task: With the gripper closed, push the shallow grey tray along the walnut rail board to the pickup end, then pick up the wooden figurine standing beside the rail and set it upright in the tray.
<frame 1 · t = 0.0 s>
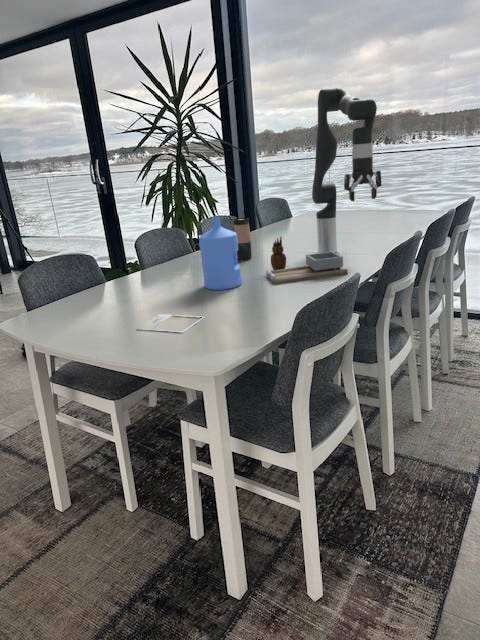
hand: (362, 199, 195), 29 cm above the table, fingers open, 8 cm apart
water jug: (223, 285, 207), on the table
travel mug: (244, 259, 251), on the table
shallow grey tray: (324, 262, 209), point 4 cm above the table, slide at 0.0 cm
photo frame: (171, 325, 167), on the table
rail board: (306, 275, 210), on the table
wooden figurine: (279, 270, 223), on the table
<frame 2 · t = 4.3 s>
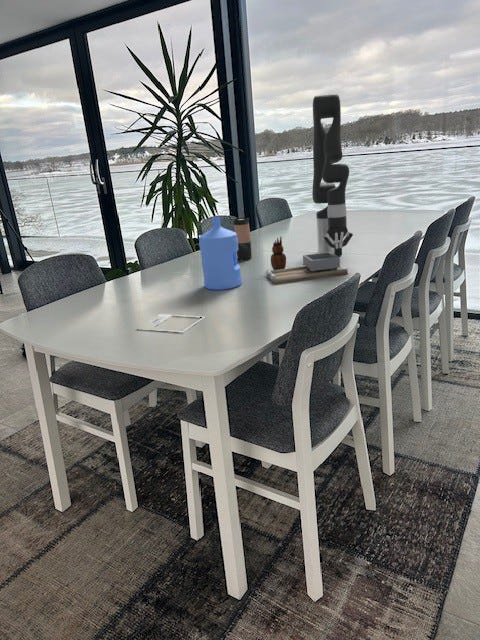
hand: (338, 256, 209), 6 cm above the table, fingers closed
shallow grey tray: (321, 263, 209), point 4 cm above the table, slide at 1.3 cm, touching gripper
everything else where it was.
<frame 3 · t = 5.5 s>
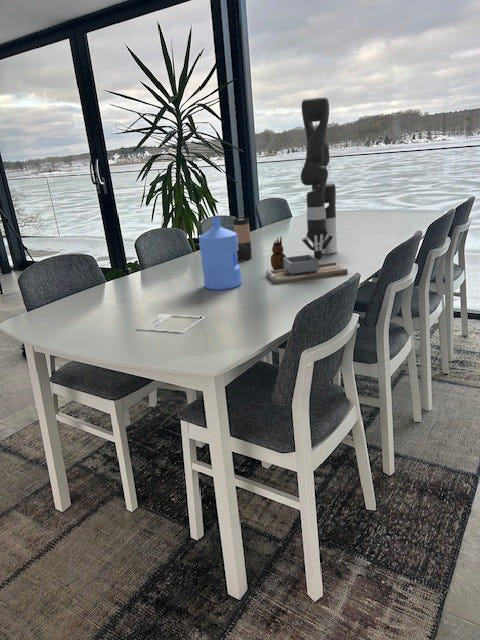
hand: (318, 259, 208), 6 cm above the table, fingers closed
shallow grey tray: (300, 265, 208), point 4 cm above the table, slide at 10.1 cm, touching gripper
everything else where it was.
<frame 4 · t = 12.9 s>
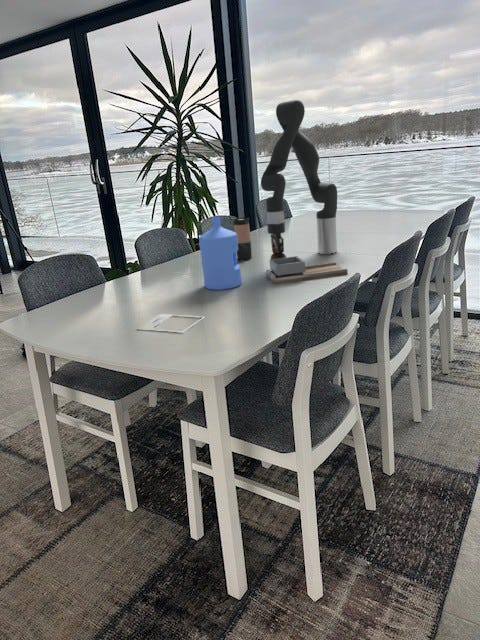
hand: (278, 259, 221), 5 cm above the table, fingers closed on wooden figurine, 6 cm apart
shallow grey tray: (287, 267, 207), point 4 cm above the table, slide at 15.9 cm
wooden figurine: (279, 270, 223), on the table, touching gripper
everything else where it was.
when the fingers open (10 cm above the table, at t = 19.3 s): wooden figurine drops 1 cm, resting on shallow grey tray.
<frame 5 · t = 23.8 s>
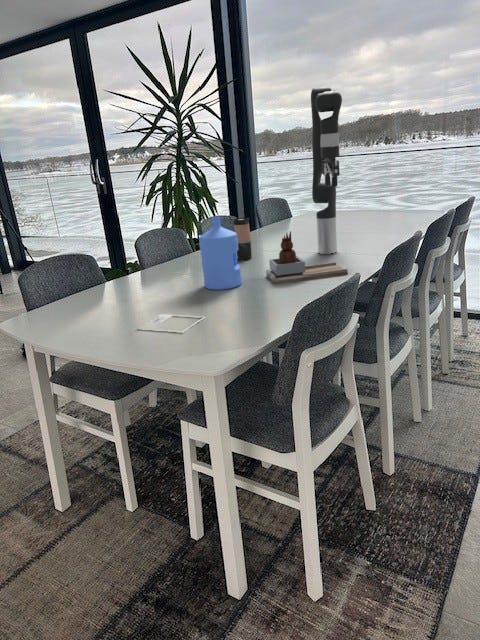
hand: (331, 186, 211), 34 cm above the table, fingers open, 8 cm apart
shallow grey tray: (287, 267, 207), point 4 cm above the table, slide at 16.0 cm, touching wooden figurine
wooden figurine: (288, 268, 207), point 4 cm above the table, touching shallow grey tray
everything else where it was.
at the end: shallow grey tray slide at 16.0 cm; wooden figurine inside the target area (0.0 cm from its centre), point 4.1 cm above the table; wooden figurine tilted 0° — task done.
